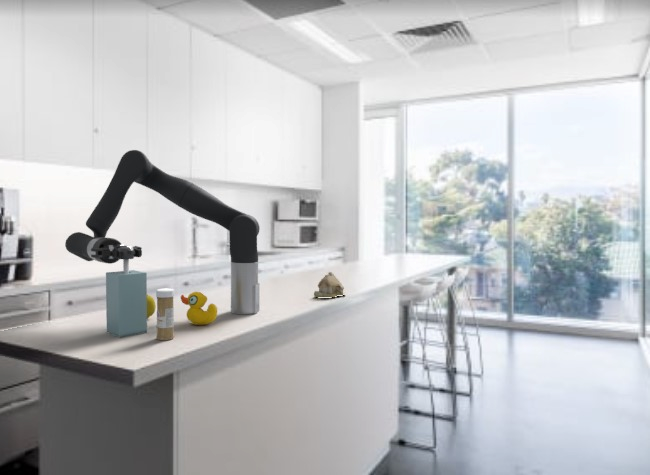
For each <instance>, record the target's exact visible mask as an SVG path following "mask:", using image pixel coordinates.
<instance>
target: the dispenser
mask: <svg viewBox="0 0 650 475" xmlns="http://www.w3.org/2000/svg"><path fill="white" fill-rule="evenodd" d="M147 286H148V285H147V272H144V271H140V270H135V269H132V270H129V273H124V270H121V271H119V270H118V271H109V272H105V288H106V289H105V296H106V297H105V299H106V301H105V302H106V303H105V304H106V305H105V306H106V307H105V309H106V316H105V318H106V333H108V334H110V335H112V336H115V337H117V338H124V337H130V336H134V335H136V336H137V335H140V334H145V333H146V334H147V333H148V319H147V294H148V293H147V291H148V290H147Z"/></svg>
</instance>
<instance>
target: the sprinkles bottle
mask: <svg viewBox="0 0 650 475" xmlns="http://www.w3.org/2000/svg"><path fill="white" fill-rule="evenodd" d="M155 291H156V292H155V296H156V302H157V303H156V306H157V307H156V340H158V341H167V340H173V339H174V338H175V335H174V325H175V323H174V321H175V320H174V319H175V318H174V316H175V311H174V310H175V308H174V297H175V289H173V288H165V287H164V288H158V289H156V290H155Z"/></svg>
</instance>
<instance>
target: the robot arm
mask: <svg viewBox="0 0 650 475" xmlns="http://www.w3.org/2000/svg"><path fill="white" fill-rule="evenodd" d="M134 183H136V184H139V185H141V186H143V187H146V188H147V189H150V190H153V191H154V192H156V193H158V194H160V195H161V196H162V197H164V198H165V199H166V200H168V201H170V203H173V204H175V206H178V207H179V208H180V209H183V210H185V211H186V212H188V213H190V214H192V215H194V216H197V217H199V218H201V219H204V220H207V221H209V222H212V223H214V224H215V223H216V224H217V225H219V226H221V227H222V228H224V229H226V230H227V231H228V232H229V233H228V235H229V236H228V238H229V240H228V241H229V243H228V244H229V255H230V313H232V314H235V315H249V314H250V315H251V314H257V313H258V312H259V311H260V291H261V290H260V288H261V287H260V283H259V252H258V235H259V233H260V230H261V229H260V224H259V222H258V220H257V219H256V218H255V217H254V216H252V215H250V214H247V213H245V212H243V211H240V210H238V209H236V208H234V207H232V206H230V205H227V203H225V202H223V201H222V200H220V199H219V198H218V197H217V196H215V195H214V194H211V193H210V192H208V191H207V190H205V189H203V188H202V187H200V186H198V185H196V184H195V183H193V182H190V181H189V180H186V179H184V178H181V177H176V176H173V175H170V174H169V173H166V172H165V171H163V170H161V168H158V167H157V166H156V165H154V163H152V162H151V161H150V160H149V158H148V157H147V155H145V153H144V152H142V151H140V150H137V149H132V150H128V151H126V152H125V153H124V154H123V155H122V156H121V157H120V160H119V161H118V164H117V167H116V169H115V171H114V174H113V177H112V178H111V180H110V182H109V184H108V186H107V188H106V190H105V191H104V194H103V195H102V197H101V198H100V200H99V201H98V203H97V205H96V206H95V207H94V209H93V210H92V212H91V213H90V215H89V217H88V218H87V220H86V221H85V226H86V227H87V228H88V229H89V230H90V231H91V232H92V233H93V236H91V235H89V234H86V233H84V232H80V231H78V232H76V231H75V232H74V233H71V234H70V235H69V236H68V237H67V238H66V240H65V249H66V250H67V251H68V253H69V254H73V255H74V256H76V257H78V258H80V259H83V260H84V261H86V262H93V261H96V262H99V263H103V264H107V265H108V264H110V265H111V264H114V263H117V262H119V261H120V259H118V258H121V257H122V253H121V250H118V248H124V247H131V248H134V251H135V254H134V258H141V257H142V255H143V254H142V253H143V251H142V247H141V246H137V245H135V246H134V245H133V246H131V245H124V244H122V243H121V242H120V241H119V240H118V239H117V238H111V237H106V236H107V233H108V232H109V230H110V228H111V226H112V224H113V223H114V222H115V220H116V219H117V217H118V215H119V213H120V210H121V208H122V205H123V203H124V200H125V197H126V195H127V193H128V191H129V189H130V188H131V187H132V185H133V184H134Z"/></svg>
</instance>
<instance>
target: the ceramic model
mask: <svg viewBox="0 0 650 475" xmlns="http://www.w3.org/2000/svg"><path fill="white" fill-rule="evenodd" d="M327 273H328V274H326V275H324V277H323V278H321V280H320V281H319V282H318V284H317V288H318V290H314V292H313V296H314V298H315V297H335V296H337V295H343V294H344V289H345V286H343V285H342V282H341V281H340V280H339V279H338V278H337V277H336V275H335V274H334V273H333V272H332V271H329V272H327Z"/></svg>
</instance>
